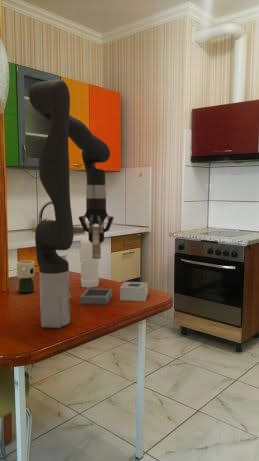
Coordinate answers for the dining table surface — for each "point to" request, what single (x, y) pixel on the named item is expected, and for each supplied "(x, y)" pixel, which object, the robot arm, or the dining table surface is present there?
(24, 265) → the character mug
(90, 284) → the bottle
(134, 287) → the hitch block
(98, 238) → the pin
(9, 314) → the dining table surface
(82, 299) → the tray
